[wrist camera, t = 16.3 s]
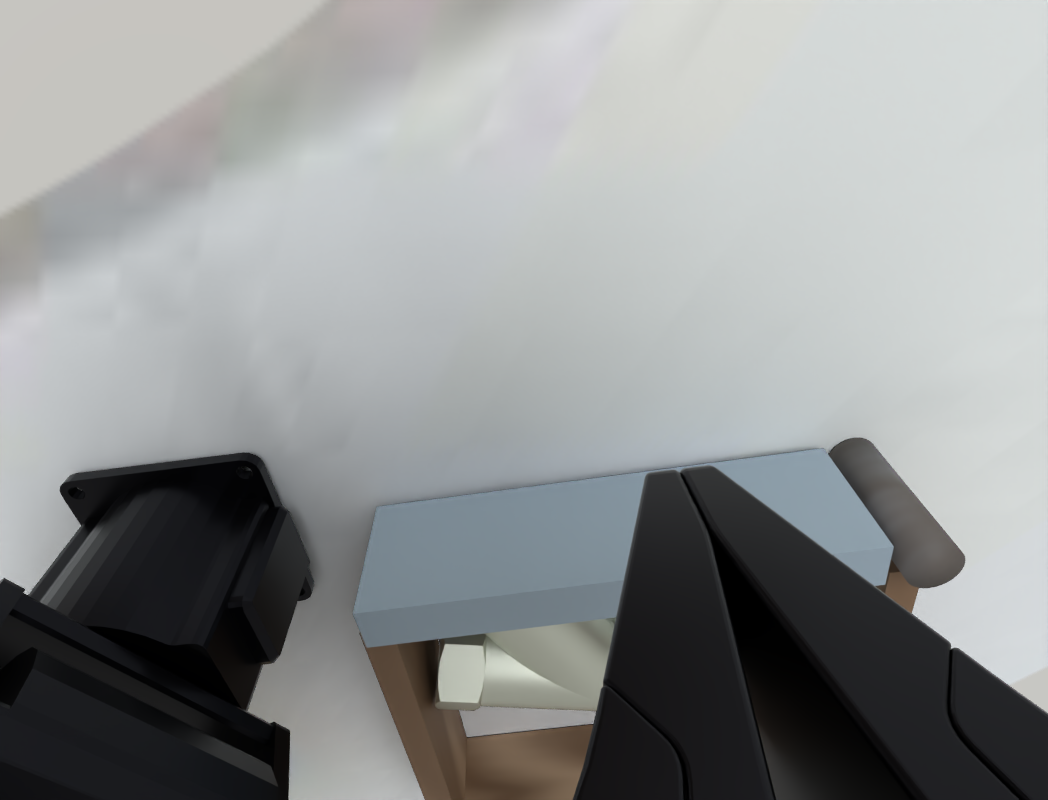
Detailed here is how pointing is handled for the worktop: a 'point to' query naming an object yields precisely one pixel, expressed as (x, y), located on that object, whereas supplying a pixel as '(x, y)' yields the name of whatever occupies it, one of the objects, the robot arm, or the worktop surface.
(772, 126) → the worktop surface
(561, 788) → the rectangular wooden tray
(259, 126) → the worktop surface
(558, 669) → the pipe fitting
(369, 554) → the grey rectangular bar
